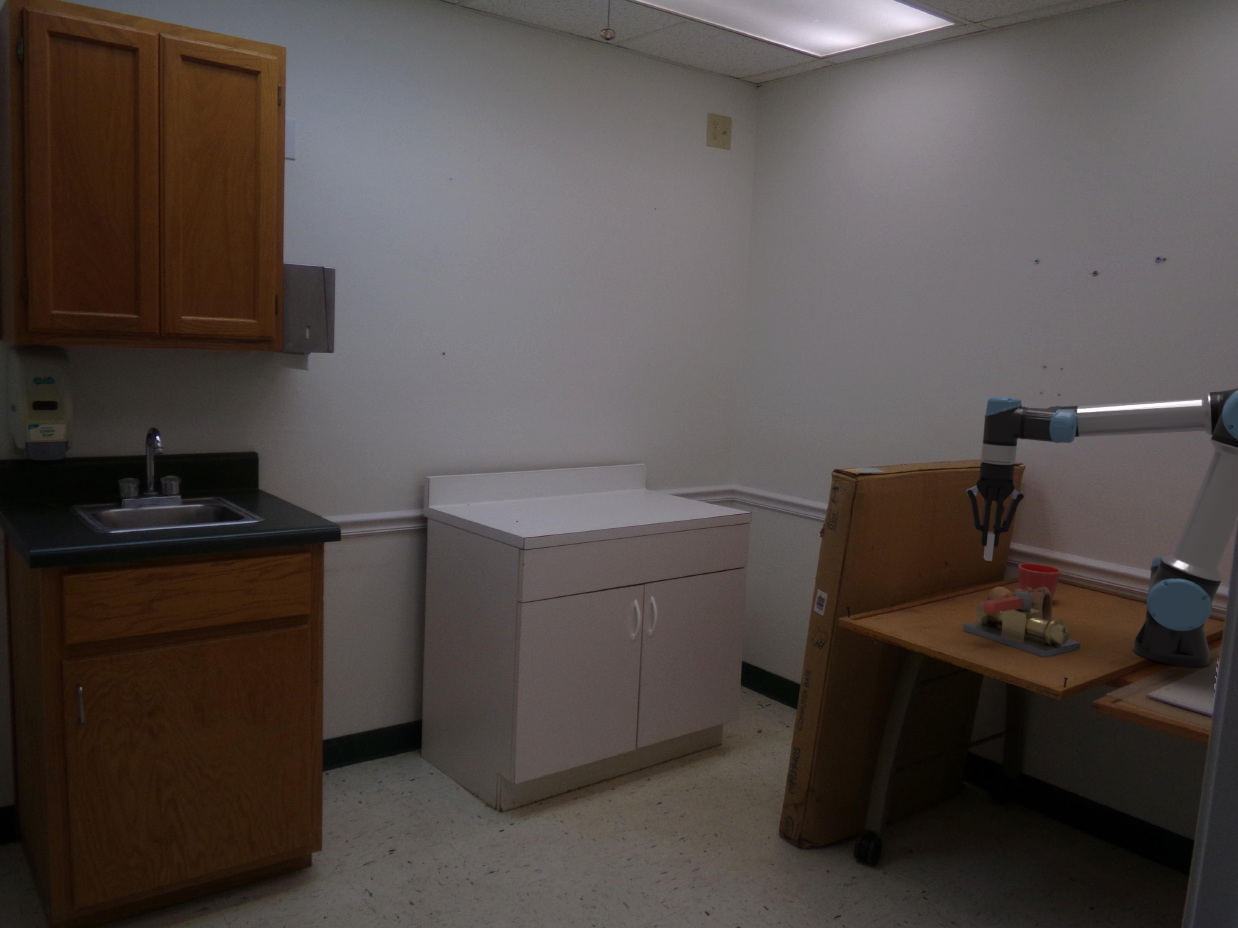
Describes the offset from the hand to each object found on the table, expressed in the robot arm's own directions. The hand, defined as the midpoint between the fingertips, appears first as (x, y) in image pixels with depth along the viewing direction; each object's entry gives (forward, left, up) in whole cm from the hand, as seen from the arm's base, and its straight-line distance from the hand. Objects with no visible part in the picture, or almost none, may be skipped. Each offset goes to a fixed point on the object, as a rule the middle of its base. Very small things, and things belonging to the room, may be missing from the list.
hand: (987, 559), depth 218 cm
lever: (-5, -1, -12) cm, 13 cm away
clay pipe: (+4, -22, -20) cm, 30 cm away
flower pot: (+15, -45, -20) cm, 51 cm away
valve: (-5, -8, -19) cm, 21 cm away
